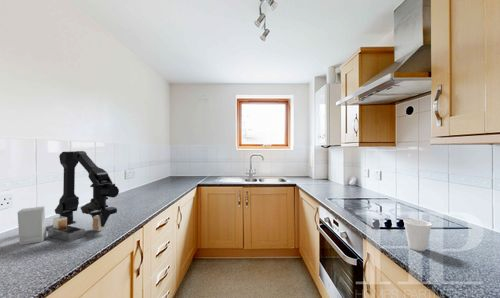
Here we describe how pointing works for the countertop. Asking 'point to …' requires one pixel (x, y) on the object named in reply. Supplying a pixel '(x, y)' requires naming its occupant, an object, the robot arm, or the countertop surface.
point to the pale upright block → (97, 223)
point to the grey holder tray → (65, 230)
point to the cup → (417, 233)
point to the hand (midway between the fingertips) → (99, 226)
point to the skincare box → (31, 225)
